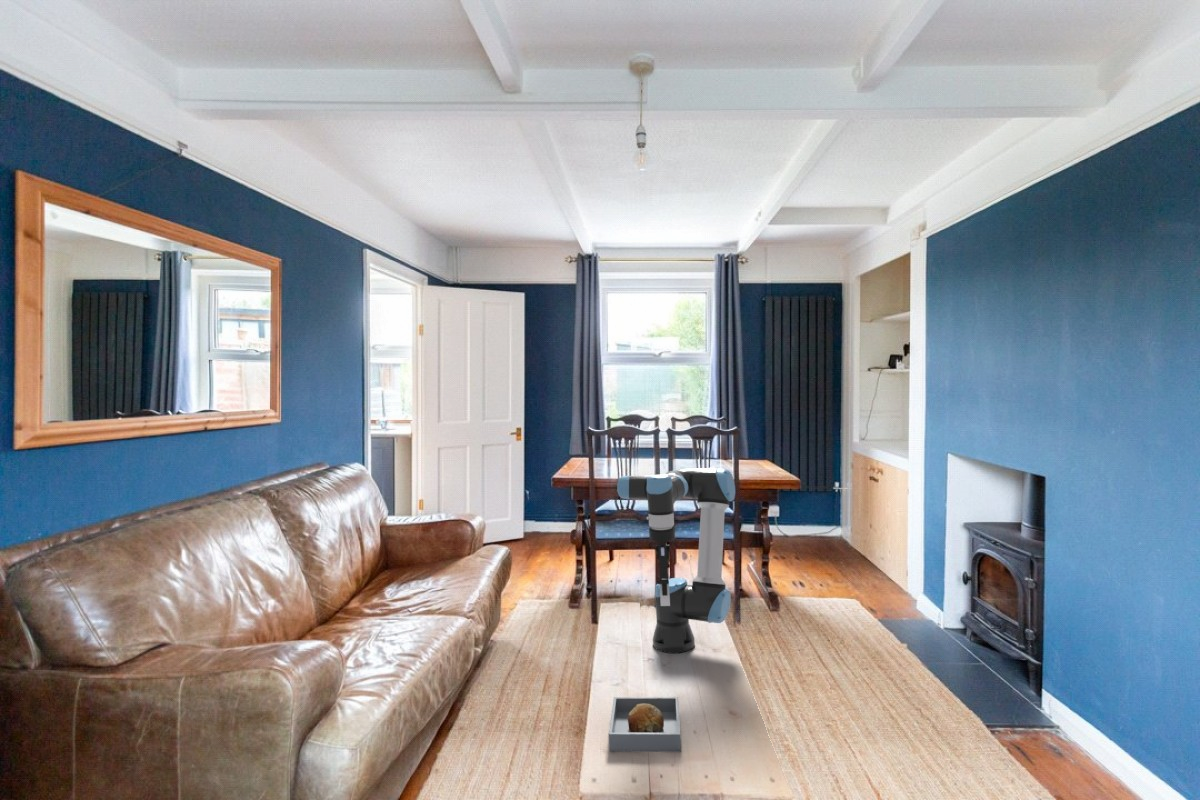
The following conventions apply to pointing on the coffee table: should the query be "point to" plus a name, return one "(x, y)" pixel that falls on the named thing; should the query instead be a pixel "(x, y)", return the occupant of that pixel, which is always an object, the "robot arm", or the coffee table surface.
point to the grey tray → (639, 740)
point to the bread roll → (645, 719)
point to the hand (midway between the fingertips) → (665, 597)
